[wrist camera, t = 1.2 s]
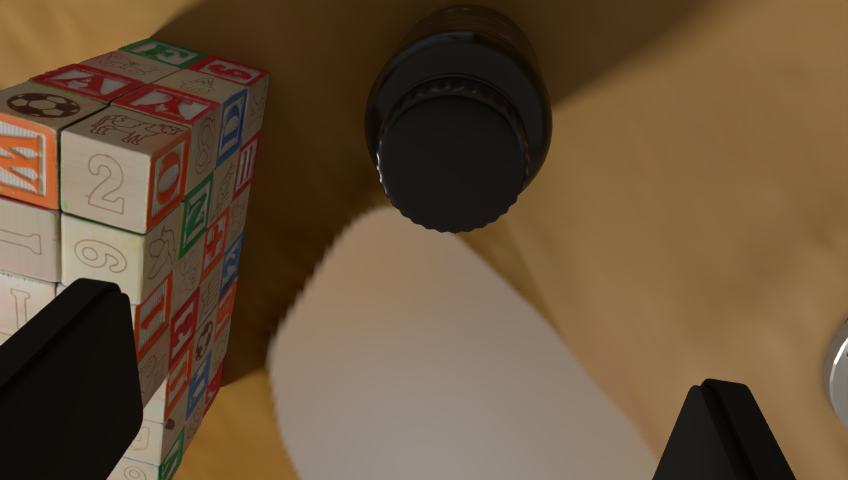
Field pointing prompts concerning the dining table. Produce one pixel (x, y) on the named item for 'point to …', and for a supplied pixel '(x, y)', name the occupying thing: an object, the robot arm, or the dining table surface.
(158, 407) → the stack of blocks
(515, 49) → the supplement bottle
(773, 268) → the dining table surface
